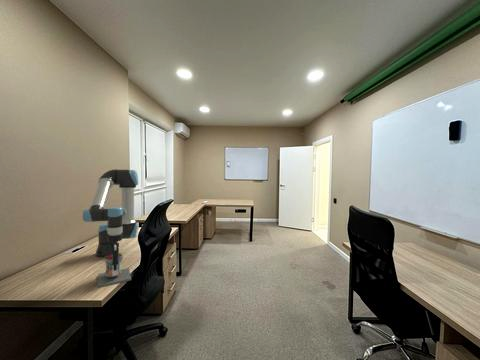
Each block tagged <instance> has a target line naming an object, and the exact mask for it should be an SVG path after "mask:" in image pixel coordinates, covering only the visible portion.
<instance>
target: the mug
mask: <svg viewBox="0 0 480 360" xmlns="http://www.w3.org/2000/svg"><path fill="white" fill-rule="evenodd" d="M123 258H124V256H123V254H122V253H118V275H119V274H120V273H121V269H122V268H121V263H122V260H123ZM103 260H104V263H105V266H106V268H105V272H104V273H105V274H104V275H105V276H106V277H113V276H112V265H111V264H113V255H112V254H110V255H107V256H105V257H103ZM114 263H115V262H114ZM116 276H117V275H116Z"/></svg>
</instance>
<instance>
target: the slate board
mask: <svg viewBox="0 0 480 360" xmlns="http://www.w3.org/2000/svg"><path fill="white" fill-rule="evenodd" d="M120 269H121V273H120V274H119V275H117V276H113V277H106V276H105V275H104V274H105V272H102V273H101V272H100V273H98V277H97V288H103V287H107V286H111V285H115V284H120V283H124V282H128V281H132V276H131V272H130V268H129V267H128V268H123V269H122V268H120Z"/></svg>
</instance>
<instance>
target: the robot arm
mask: <svg viewBox="0 0 480 360" xmlns="http://www.w3.org/2000/svg"><path fill="white" fill-rule="evenodd" d="M97 181H98V182H97V184H98V186H97V188H96V192H95V194H94V197H93V199H92V202H91V204H90V208H88V209H87V208H86V209H84V210H83V211H82V220H83V221H84V222H85V223H91V222H92V223H93V222H94V223H95V222H106V223H102V224H100V225H99V227H98V231H97V232H98V245H97V247H96V250H95V257H97V258H104V257H105V256H107V255H110V254H112V255H113V264H111V265H112V276H116V275H118V254H120V248H119V247H120V243H119V242H121V241H122V240H127V239H134V238H136V237H137V234H138V229H139V223H138V222H137V220H136V219H135V189H136V188H137V186H138V185H139V176H138V172H137V170H135V169H110V170H108V171H106V172H104V173H102V175H101V176H100V177H99V179H98V180H97ZM114 186H118V188H119V189H120V190H121V206H113V207H108V208H106V205H107V202H108V198H109V195H110V192H111V189H112V188H113V187H114ZM114 262H115V263H114Z"/></svg>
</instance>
